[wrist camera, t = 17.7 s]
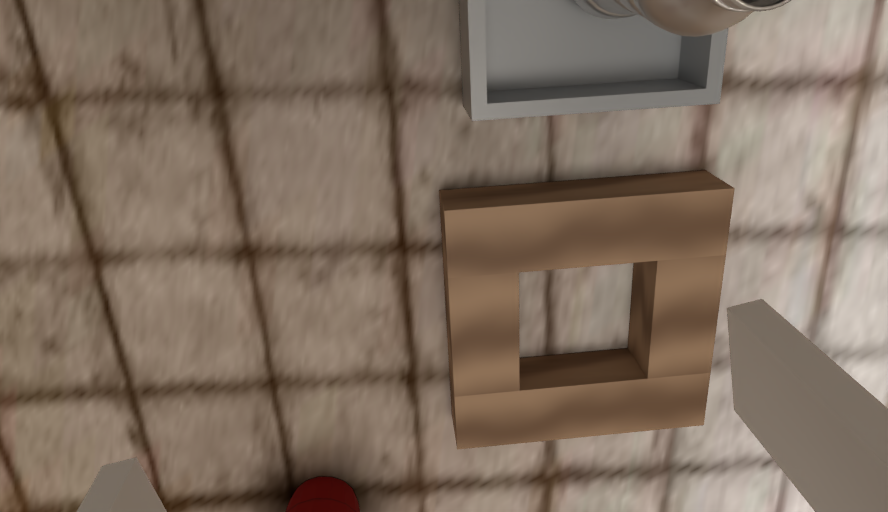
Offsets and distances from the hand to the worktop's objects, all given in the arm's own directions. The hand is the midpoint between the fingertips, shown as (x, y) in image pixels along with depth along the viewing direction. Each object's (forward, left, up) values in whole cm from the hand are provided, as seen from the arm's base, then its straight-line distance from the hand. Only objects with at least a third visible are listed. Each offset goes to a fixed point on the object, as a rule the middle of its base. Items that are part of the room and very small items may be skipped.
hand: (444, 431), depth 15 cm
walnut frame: (+16, +12, -34) cm, 40 cm away
